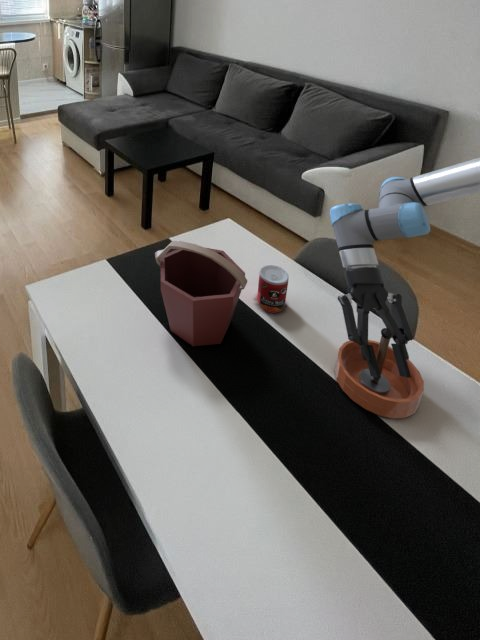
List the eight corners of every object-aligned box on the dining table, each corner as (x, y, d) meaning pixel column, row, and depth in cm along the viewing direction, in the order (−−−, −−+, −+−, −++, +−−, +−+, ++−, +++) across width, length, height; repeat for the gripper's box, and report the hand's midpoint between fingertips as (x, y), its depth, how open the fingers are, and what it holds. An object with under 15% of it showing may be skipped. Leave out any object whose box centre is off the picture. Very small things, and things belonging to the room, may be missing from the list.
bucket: (140, 319, 125) (138, 249, 115) (185, 281, 138) (187, 215, 129) (214, 372, 107) (219, 294, 98) (258, 322, 120) (265, 250, 111)
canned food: (257, 311, 124) (260, 281, 120) (255, 292, 131) (258, 263, 127) (286, 315, 122) (290, 285, 118) (282, 296, 129) (286, 266, 125)
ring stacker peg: (384, 375, 102) (399, 322, 96) (393, 398, 97) (408, 343, 91) (356, 369, 104) (368, 317, 98) (362, 392, 99) (376, 337, 93)
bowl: (403, 364, 105) (408, 346, 103) (430, 429, 91) (436, 410, 89) (328, 350, 111) (331, 333, 108) (342, 409, 96) (346, 391, 94)
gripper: (391, 268, 107) (423, 374, 97) (315, 270, 108) (339, 375, 99) (410, 265, 100) (446, 378, 91) (328, 267, 101) (356, 379, 92)
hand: (390, 376), depth 95 cm, fingers open, 6 cm apart
